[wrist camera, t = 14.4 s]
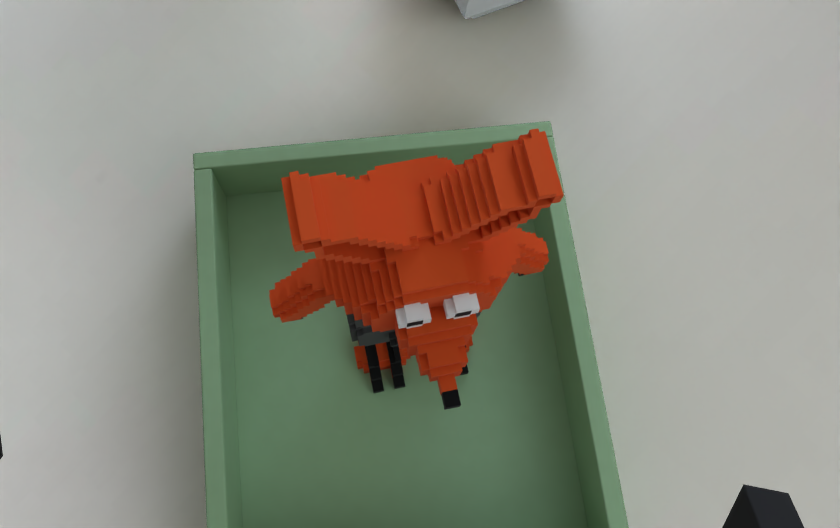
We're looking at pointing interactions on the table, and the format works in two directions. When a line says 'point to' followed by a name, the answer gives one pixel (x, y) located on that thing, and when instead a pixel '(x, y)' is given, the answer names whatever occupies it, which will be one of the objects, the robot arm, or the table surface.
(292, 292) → the toy animal
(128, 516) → the table surface
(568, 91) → the table surface
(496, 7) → the stamp
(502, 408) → the tray
